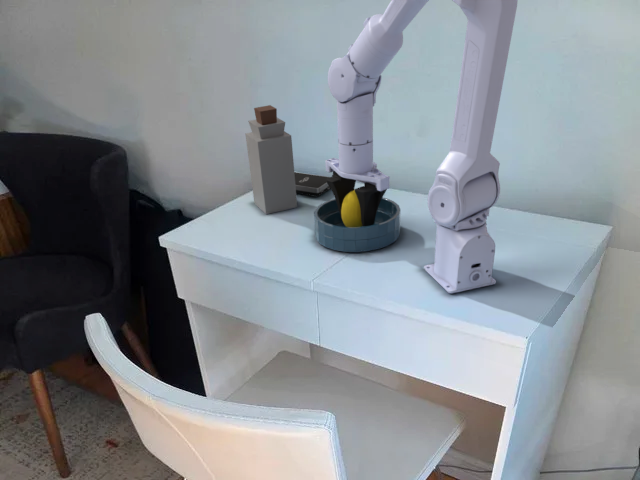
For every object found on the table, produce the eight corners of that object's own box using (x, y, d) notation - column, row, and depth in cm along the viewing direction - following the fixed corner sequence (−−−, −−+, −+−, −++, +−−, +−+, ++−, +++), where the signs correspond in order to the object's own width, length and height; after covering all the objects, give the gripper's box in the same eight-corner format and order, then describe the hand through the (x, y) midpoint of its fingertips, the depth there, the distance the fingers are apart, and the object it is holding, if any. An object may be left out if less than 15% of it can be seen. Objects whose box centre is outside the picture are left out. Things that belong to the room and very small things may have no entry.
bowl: (413, 243, 106) (414, 218, 103) (330, 260, 103) (329, 234, 100) (380, 213, 117) (380, 189, 114) (305, 227, 114) (303, 203, 111)
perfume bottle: (254, 203, 125) (241, 107, 113) (284, 196, 127) (275, 101, 115) (266, 214, 120) (254, 115, 109) (297, 207, 122) (289, 109, 111)
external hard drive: (318, 198, 125) (317, 188, 124) (274, 191, 130) (273, 181, 128) (335, 187, 129) (334, 177, 128) (291, 180, 134) (291, 171, 133)
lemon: (361, 242, 107) (360, 196, 102) (336, 236, 110) (334, 191, 105) (378, 231, 110) (378, 186, 105) (353, 225, 113) (352, 181, 108)
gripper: (404, 143, 97) (401, 226, 106) (346, 127, 106) (348, 204, 115) (370, 154, 94) (371, 238, 103) (314, 136, 103) (319, 215, 112)
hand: (357, 221), depth 108 cm, fingers closed on lemon, 5 cm apart
